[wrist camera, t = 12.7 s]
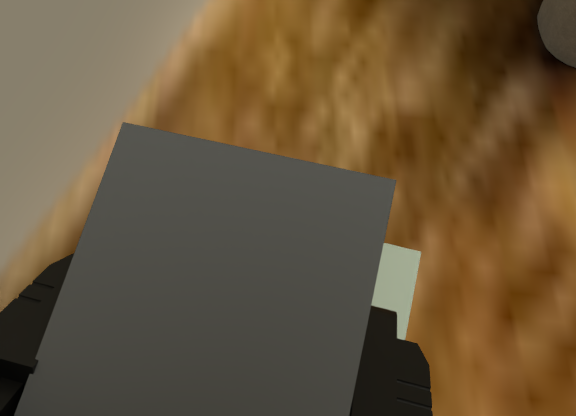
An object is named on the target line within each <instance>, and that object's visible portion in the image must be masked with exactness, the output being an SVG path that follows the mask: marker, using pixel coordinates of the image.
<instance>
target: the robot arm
mask: <svg viewBox="0 0 576 416" xmlns="http://www.w3.org/2000/svg"><path fill="white" fill-rule="evenodd" d="M73 256H74V254H71V255H69V256H67V257H65V258H63V259H61V260H59V261H57V262H55V263H53V264H51V265H49V266H48V267H47V268H46V269H45V270H44V271H43V272H42V273H41V274H40V275H39V276H38V277H37V278H36V279H35V280H34V281H33V283H32V285H28V286H27V287H26V288H25V289H24V290H23V291H22V292H21V293H20V294H19V297H18V299H17V298H15V299H14V300H13V301H12V302H11V303H10V304H9V305H8V306H7V307H6V308H5V309H4V310H3V311H2V312H1V313H0V416H14V415H15V412H16V409H17V406H18V404H19V401H20V398H21V396H22V393H23V390H24V388H25V385H26V382H27V380H28V377H29V374H34V371H35V369H36V366H37V363H38V361H39V360H37V359H35V358H36V355H37V353H38V350H39V347H40V345H41V342H42V339H43V336H44V334H45V331H46V328H47V326H48V323H49V320H50V318H51V315H52V312H53V310H54V307H55V304H56V301H57V299H58V296H59V293H60V291H61V288H62V285H63V283H64V280H65V277H66V275H67V272H68V269H69V266H70V264H71V261H72V258H73ZM430 388H431V385H430V371H429V364H428V362H427V360H426V359H425V357H424V355H423V353H422V351H421V349H420V347H419V346H418V344H417V343H413V342H410V341H406V340H402V339H398V338H397V312H395V311H392V310H388V309H384V308H380V307H376V306H372V305H371V309H370V314H369V319H368V324H367V329H366V334H365V339H364V344H363V349H362V354H361V358H360V363H359V368H358V373H357V378H356V383H355V388H354V393H353V398H352V403H351V408H350V413H349V416H433V414H432V411H431V408H432V399H431V392H430Z"/></svg>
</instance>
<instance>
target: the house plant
mask: <svg viewBox="0 0 576 416" xmlns="http://www.w3.org/2000/svg"><path fill="white" fill-rule="evenodd" d="M537 21H538V29H539V32H540V35H541V38H542V41H543V43H544V45H545V47H546V49H547V50H548V51H549V52H550V53H551V54H552V55H553V56H554V57H556V58H557V59H559V60H560V61H562V62H564V63H565V64H567V65H569V66H572V67H575V68H576V0H543V2H542V4H541V7H540V10H539V13H538V15H537Z"/></svg>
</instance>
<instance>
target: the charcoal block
mask: <svg viewBox="0 0 576 416" xmlns="http://www.w3.org/2000/svg"><path fill="white" fill-rule="evenodd" d="M395 184H396V180H393V179H388V178H383V177H379V176H374V175H369V174H365V173H360V172H355V171H350V170H346V169H341V168H336V167H332V166H327V165H322V164H318V163H313V162H308V161H303V160H299V159H294V158H289V157H285V156H280V155H275V154H270V153H266V152H261V151H256V150H252V149H247V148H242V147H238V146H233V145H228V144H223V143H219V142H214V141H209V140H205V139H200V138H195V137H190V136H186V135H181V134H176V133H172V132H167V131H162V130H158V129H153V128H148V127H143V126H139V125H134V124H129V123H125V122H123V124H122V127H121V129H120V132H119V135H118V137H117V140H116V143H115V145H114V148H113V151H112V153H111V156H110V159H109V162H108V164H107V167H106V170H105V172H104V175H103V178H102V180H101V183H100V186H99V188H98V191H97V194H96V197H95V199H94V202H93V205H92V207H91V210H90V213H89V215H88V218H87V221H86V223H85V226H84V229H83V231H82V234H81V237H80V240H79V242H78V245H77V248H76V250H75V253H74V256H73V258H72V261H71V264H70V266H69V269H68V272H67V275H66V277H65V280H64V283H63V285H62V288H61V291H60V293H59V296H58V299H57V301H56V304H55V307H54V310H53V312H52V315H51V318H50V320H49V323H48V326H47V328H46V331H45V334H44V336H43V339H42V342H41V345H40V347H39V350H38V353H37V355H36V358H35V359H37V360H39V361H38V363H37V366H36V369H35V371H34V374H29V377H28V380H27V382H26V385H25V388H24V390H23V393H22V396H21V398H20V401H19V404H18V406H17V409H16V412H15V415H14V416H349V413H350V408H351V403H352V398H353V393H354V388H355V383H356V378H357V373H358V368H359V363H360V358H361V354H362V349H363V344H364V339H365V334H366V329H367V324H368V319H369V314H370V309H371V304H372V299H373V294H374V289H375V284H376V279H377V274H378V269H379V264H380V259H381V254H382V249H383V244H384V239H385V234H386V229H387V224H388V219H389V214H390V209H391V204H392V199H393V194H394V189H395Z"/></svg>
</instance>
